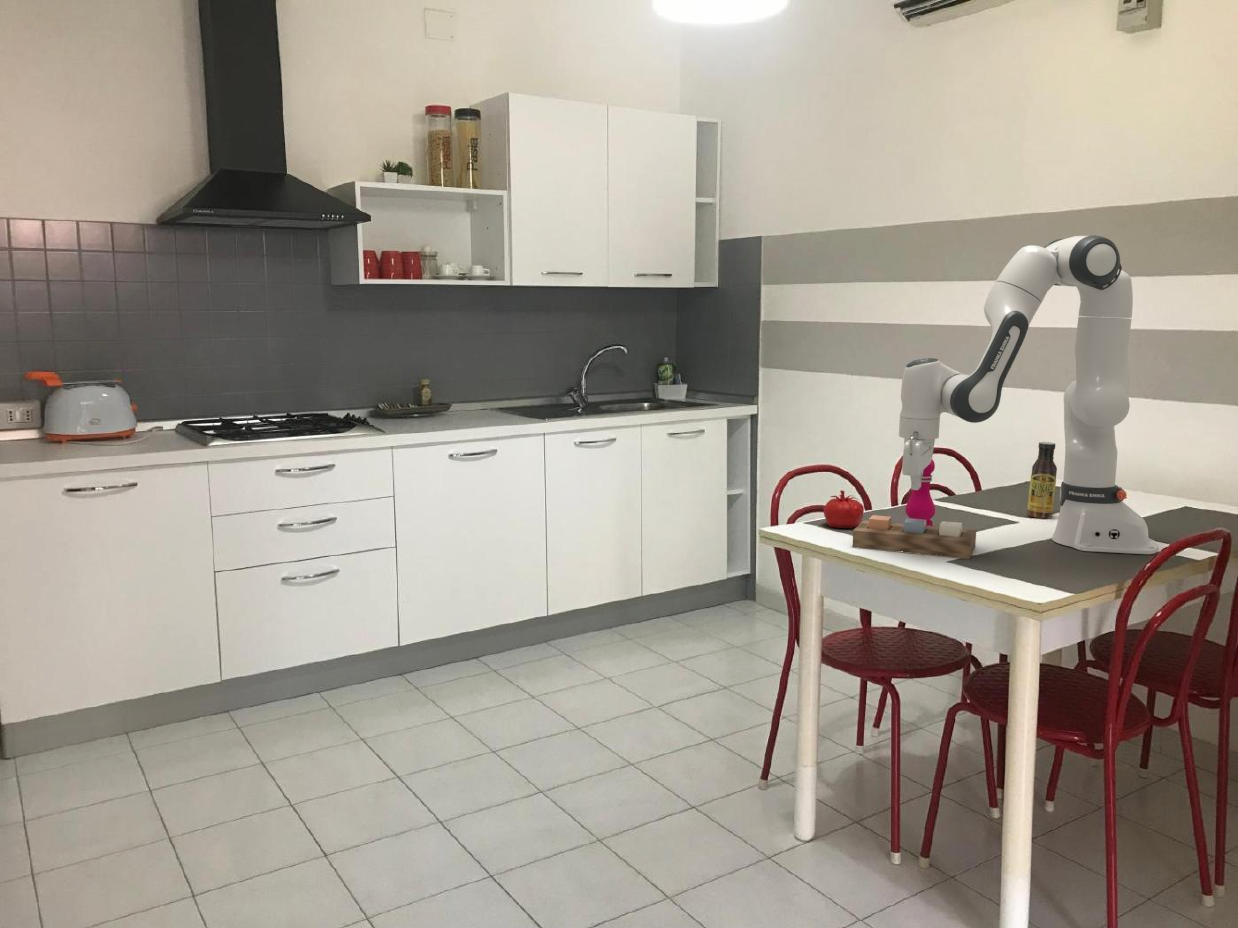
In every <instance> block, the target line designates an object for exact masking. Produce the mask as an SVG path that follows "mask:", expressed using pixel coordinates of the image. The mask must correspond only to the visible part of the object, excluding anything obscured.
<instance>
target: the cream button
mask: <svg viewBox="0 0 1238 928" xmlns="http://www.w3.org/2000/svg"><path fill="white" fill-rule="evenodd" d="M939 527H940V528H939V535H943V536H953V537H961V536H962V529H963V522H955V521H944V520H942V521H941V522H940V524H939Z"/></svg>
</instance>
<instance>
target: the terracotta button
mask: <svg viewBox="0 0 1238 928" xmlns="http://www.w3.org/2000/svg"><path fill="white" fill-rule="evenodd" d="M868 520H869V529H879V530H890V529H891V523H892V516H888V515H886V516H885V515H877V514H876V515H875V514H873V515H871V516H870V517H869V518H868Z"/></svg>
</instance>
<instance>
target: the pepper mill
mask: <svg viewBox="0 0 1238 928" xmlns="http://www.w3.org/2000/svg"><path fill="white" fill-rule="evenodd" d="M935 468H936V463H935V461H934V460H933V458H932V460H931V463H930V464H929V465H928V466H927V467H926V468H925V469H924V470H923V475H922V480H921V487H920V488H919V489H918V490H912V491H911V495H910V497H909V499H908V501H907V502H906V506H905V514H906V515H907V518H911V519H922V520H926V526H934V525H933V524H934V523H933V521H932V520H931V519H932V518H933V517H935V514H936V507H935V502H934V501H933V499H932V496H931V491H930V487H931V482H932V481H933V474H932V473H933V472H934V471H935Z"/></svg>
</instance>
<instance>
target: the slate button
mask: <svg viewBox="0 0 1238 928" xmlns="http://www.w3.org/2000/svg"><path fill="white" fill-rule="evenodd" d="M903 524H904V528H903V532H911V533H921V534H925V532H926V520H922V519H911V518H909V517H907V518H905V520H904V521H903Z"/></svg>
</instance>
